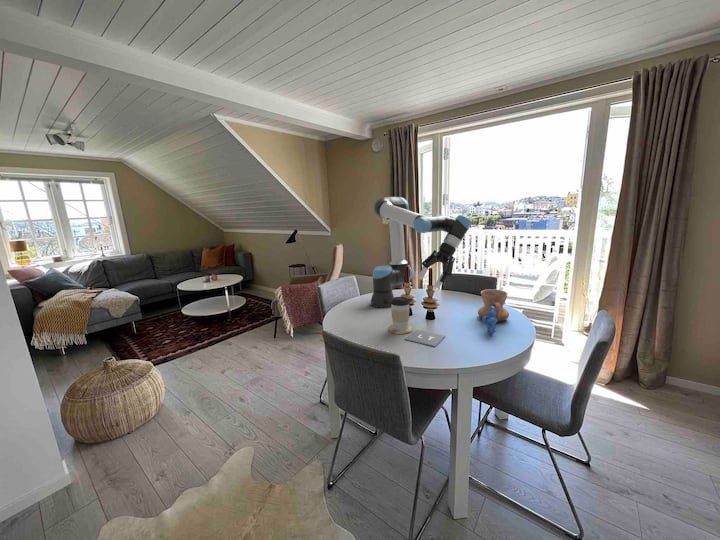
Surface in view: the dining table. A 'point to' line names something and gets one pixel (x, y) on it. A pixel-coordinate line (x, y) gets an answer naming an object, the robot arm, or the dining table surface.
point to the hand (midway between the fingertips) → (427, 283)
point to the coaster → (400, 331)
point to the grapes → (490, 320)
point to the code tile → (425, 338)
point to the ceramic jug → (494, 303)
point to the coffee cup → (400, 313)
